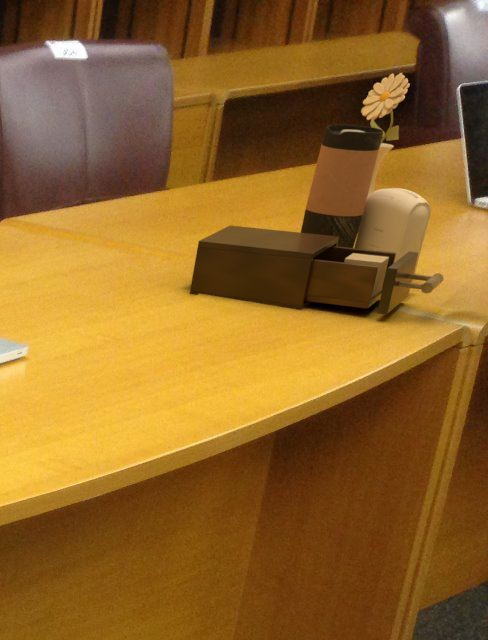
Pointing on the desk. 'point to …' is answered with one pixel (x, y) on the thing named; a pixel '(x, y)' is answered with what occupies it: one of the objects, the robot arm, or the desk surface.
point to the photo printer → (394, 222)
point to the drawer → (364, 279)
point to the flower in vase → (384, 113)
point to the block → (373, 261)
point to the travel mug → (342, 182)
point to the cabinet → (258, 265)
